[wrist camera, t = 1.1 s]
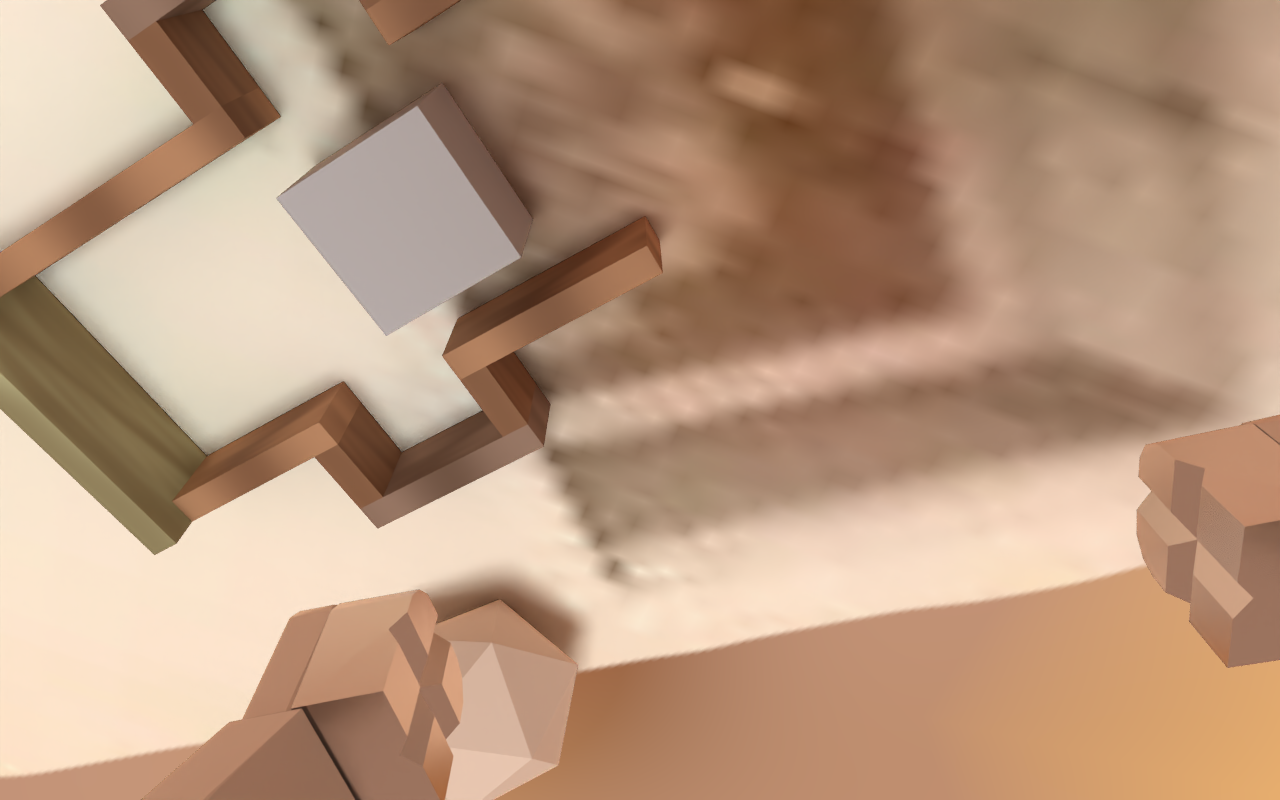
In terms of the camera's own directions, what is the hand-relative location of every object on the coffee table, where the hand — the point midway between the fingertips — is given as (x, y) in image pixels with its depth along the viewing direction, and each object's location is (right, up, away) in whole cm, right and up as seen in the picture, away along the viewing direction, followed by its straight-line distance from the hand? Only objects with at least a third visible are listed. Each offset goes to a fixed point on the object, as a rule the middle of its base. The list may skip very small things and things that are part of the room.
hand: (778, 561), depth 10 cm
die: (-9, -11, +36) cm, 39 cm away
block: (-10, +10, +25) cm, 28 cm away
